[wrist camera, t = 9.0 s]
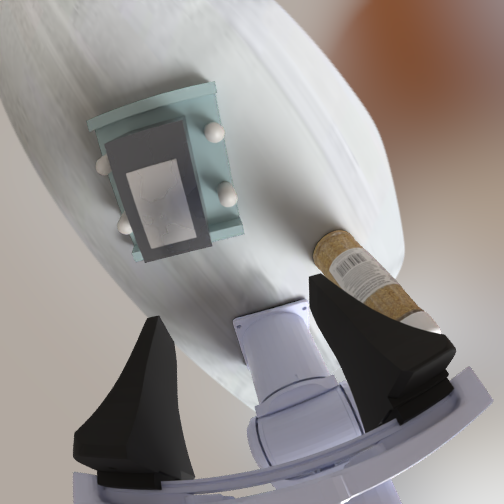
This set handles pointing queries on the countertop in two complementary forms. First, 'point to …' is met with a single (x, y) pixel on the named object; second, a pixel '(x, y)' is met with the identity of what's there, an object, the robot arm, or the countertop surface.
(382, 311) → the sprinkles bottle
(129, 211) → the dark grey block
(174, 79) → the countertop surface
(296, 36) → the countertop surface
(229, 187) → the tray
